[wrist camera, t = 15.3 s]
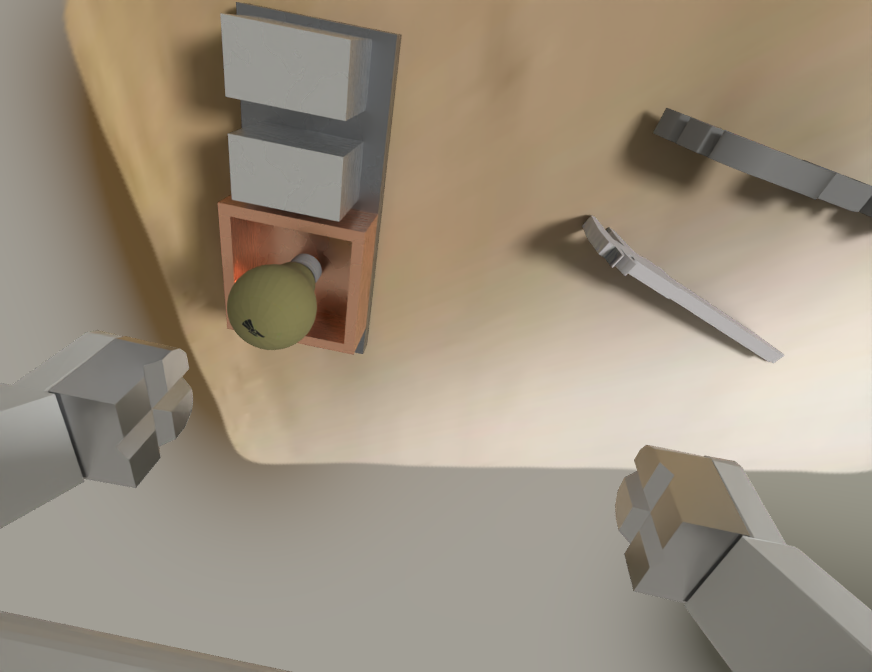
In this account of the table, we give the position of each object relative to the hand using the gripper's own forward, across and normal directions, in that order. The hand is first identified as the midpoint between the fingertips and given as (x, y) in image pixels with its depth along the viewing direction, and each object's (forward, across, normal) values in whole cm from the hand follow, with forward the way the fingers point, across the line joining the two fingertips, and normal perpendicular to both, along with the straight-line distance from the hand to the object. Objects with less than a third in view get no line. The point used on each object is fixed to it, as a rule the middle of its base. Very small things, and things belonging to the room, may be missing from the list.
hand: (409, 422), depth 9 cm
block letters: (+30, -24, -2) cm, 38 cm away
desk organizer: (+29, +11, +8) cm, 32 cm away
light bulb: (+28, +11, +11) cm, 32 cm away
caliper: (+30, -18, +8) cm, 36 cm away
